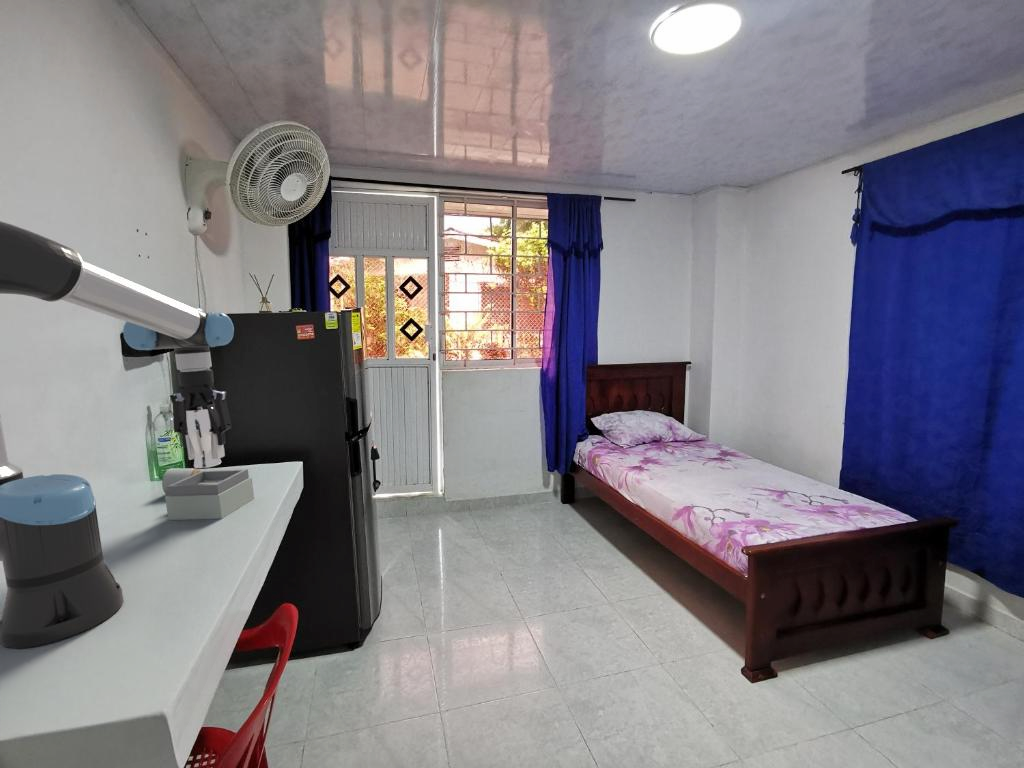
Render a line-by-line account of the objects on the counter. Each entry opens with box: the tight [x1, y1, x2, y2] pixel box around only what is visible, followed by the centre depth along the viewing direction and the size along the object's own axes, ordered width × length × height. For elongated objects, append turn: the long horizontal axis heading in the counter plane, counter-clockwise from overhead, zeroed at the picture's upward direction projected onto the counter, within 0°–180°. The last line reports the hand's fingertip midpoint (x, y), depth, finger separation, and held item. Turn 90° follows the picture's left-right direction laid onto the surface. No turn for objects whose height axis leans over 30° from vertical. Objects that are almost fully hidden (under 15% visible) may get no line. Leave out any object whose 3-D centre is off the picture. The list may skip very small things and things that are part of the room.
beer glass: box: [184, 406, 222, 469], centre depth 128 cm, size 7×7×15 cm
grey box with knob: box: [164, 468, 255, 521], centre depth 130 cm, size 14×17×8 cm
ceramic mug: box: [161, 467, 202, 496], centre depth 146 cm, size 11×8×8 cm
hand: (207, 457), depth 129 cm, fingers closed on beer glass, 6 cm apart
